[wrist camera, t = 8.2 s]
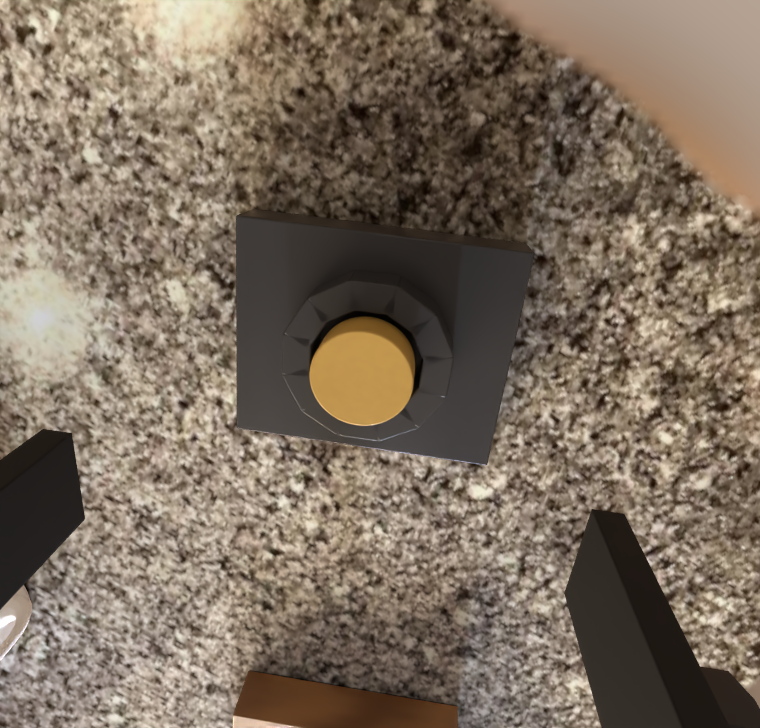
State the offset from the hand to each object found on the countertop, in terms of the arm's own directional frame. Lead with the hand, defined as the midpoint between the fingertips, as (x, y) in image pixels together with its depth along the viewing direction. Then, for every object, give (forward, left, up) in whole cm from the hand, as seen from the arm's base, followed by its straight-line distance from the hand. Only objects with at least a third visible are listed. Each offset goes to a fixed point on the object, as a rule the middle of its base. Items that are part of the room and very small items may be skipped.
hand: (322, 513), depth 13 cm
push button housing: (0, 0, -13) cm, 13 cm away
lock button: (0, 0, -9) cm, 9 cm away
